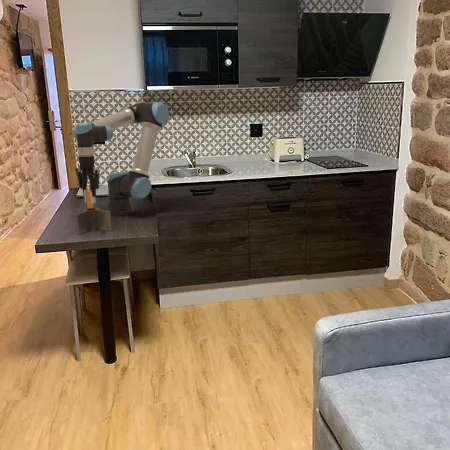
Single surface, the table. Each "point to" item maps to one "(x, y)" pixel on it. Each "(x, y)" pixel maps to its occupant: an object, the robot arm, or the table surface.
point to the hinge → (93, 220)
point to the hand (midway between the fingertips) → (90, 202)
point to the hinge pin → (89, 205)
